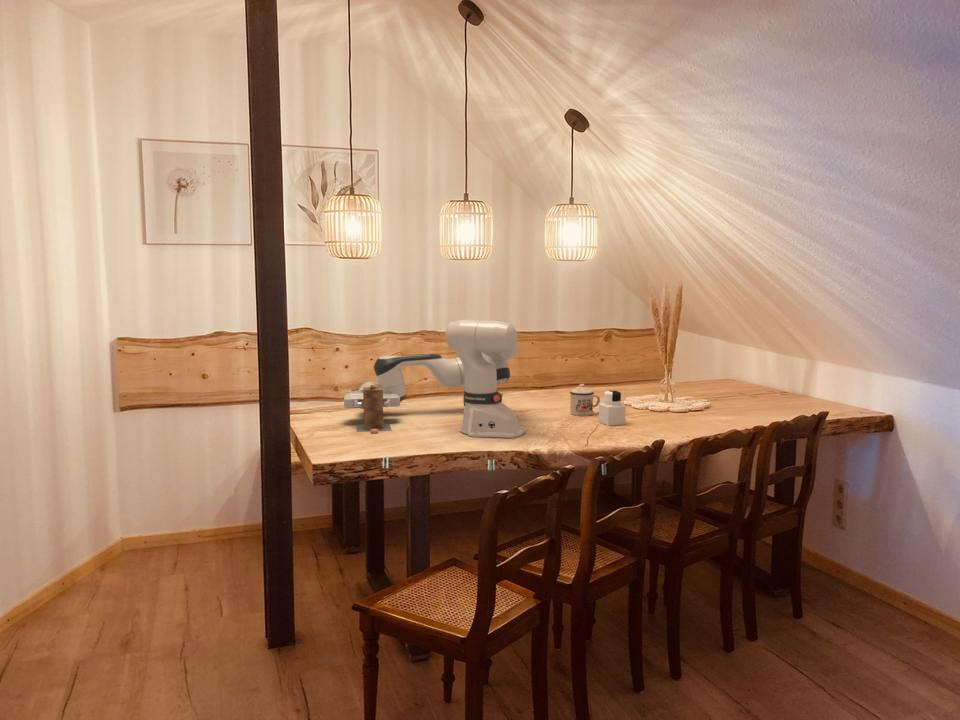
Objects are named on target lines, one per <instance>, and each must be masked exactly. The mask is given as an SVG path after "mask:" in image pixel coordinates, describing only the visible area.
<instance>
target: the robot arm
mask: <svg viewBox="0 0 960 720" xmlns="http://www.w3.org/2000/svg"><path fill="white" fill-rule="evenodd" d="M444 339H445V342H446V344H447V345H448V347H449V348H451V349H452V351H454V352H455V354H456V355H457V357H454V358H446V357H445V358H444V357H442V356H441V355H440V354H439V353H420V354H419V353H418V354H406V355H405V354H404V355H382V356H380V357H378V358H377V359H376V361H375V363H374V365H373V369H374V370H373V371H374V373H375V375H376V378H377V382H375V381H366V382H364V383H362V385H360V387H359V388H355V389H348V390H347V393H346V394H345V395H344V397H343V408H344V409H361V410H364V401H363V387H370V385H375V387H382V389H383V408H390V407H391V408H392V407H400V406H401V402H402V401H403V400H405V398H406V397H407V396H408V395H407V394H408V392H407V388H406V387H407V386H406V382H405V380H404V375H403V371H402V368H403V367H412V366H413V367H414V366H424V367H426V368H427V369H428V370H429V371H430V373H431V374H432V376H433V377H434V378H435V380H436V381H437V382H438V383H439V384H440V385H441V386H443V387H445V388H448V389H451V388H456V387H457V388H458V387H462V386H464V391H463V396H462V397H463V398H462V399H463V402H462V403H463V407H464V408H463V409H464V410H463V411H464V412H463V417H462V422H461V426H460V432H461V433H463V434H465V435H467V436H469V437H475V438H476V437H478V438H481V437H482V438H507V439H513V438H518V437H520V436H523V434H525V433H526V428H525V427H523V426H519V420H518V416H517V413H516V412H515V411H513V410H512V409H511V408H510V407H508V406H507V405H506V404H505V403H503V402H502V401H503V395H504V393H500V392H499V391H498V390H497V387H498V386H500V385H502V384H504V383H506V382H508V380H509V379H510V378H511V370H510V367H509V363H508V360H512V359H514V358H515V357H516V356H517V355H518V352H519V348H520V347H519V342H518V332H517V329H516V328H515V326H514V324H512V323H510V322H507V321H502V320H492V319H491V320H487V319H485V320H484V319H456V320H453V321H451V322H449V324H448V325H447V327H446V329H445V333H444Z"/></svg>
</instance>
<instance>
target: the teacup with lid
mask: <svg viewBox="0 0 960 720" xmlns="http://www.w3.org/2000/svg"><path fill="white" fill-rule="evenodd" d="M569 393H570V402H569V403H570V405H569V406H570V415H573V416H577V417H588V416H589V417H590V416H592V415H593V414H594V408H596V407H599V404H600V403H601V399H600V396H599V395H598V394H594V393H595V392H594V390H593V389H590V388H589V387H587V386H585V383H580V384H579V386H576V387H575V388H572V389H570V392H569ZM594 397H595V398H596V399H597V401H596V403H595V404H594Z"/></svg>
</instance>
